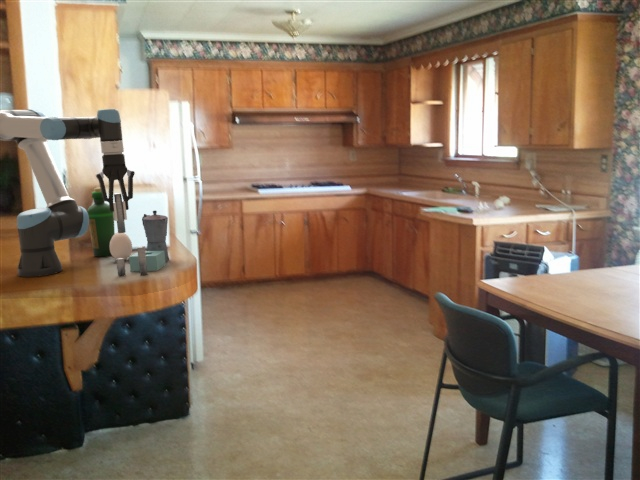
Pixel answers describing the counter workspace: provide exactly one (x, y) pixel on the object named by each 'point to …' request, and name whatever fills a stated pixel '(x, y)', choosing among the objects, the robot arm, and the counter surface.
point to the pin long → (119, 213)
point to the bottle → (100, 225)
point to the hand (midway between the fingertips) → (120, 219)
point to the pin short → (121, 267)
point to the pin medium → (142, 260)
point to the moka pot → (156, 232)
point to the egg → (120, 246)
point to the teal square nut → (148, 260)
